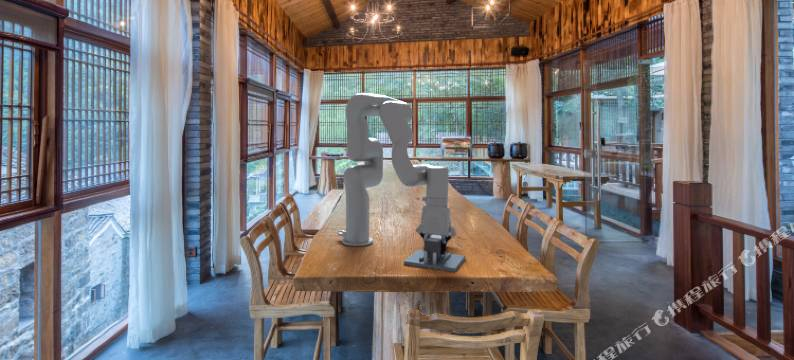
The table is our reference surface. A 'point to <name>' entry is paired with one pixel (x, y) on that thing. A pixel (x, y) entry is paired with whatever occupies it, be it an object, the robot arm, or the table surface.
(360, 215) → the robot arm
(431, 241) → the block
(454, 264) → the grey stand
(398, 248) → the table surface
